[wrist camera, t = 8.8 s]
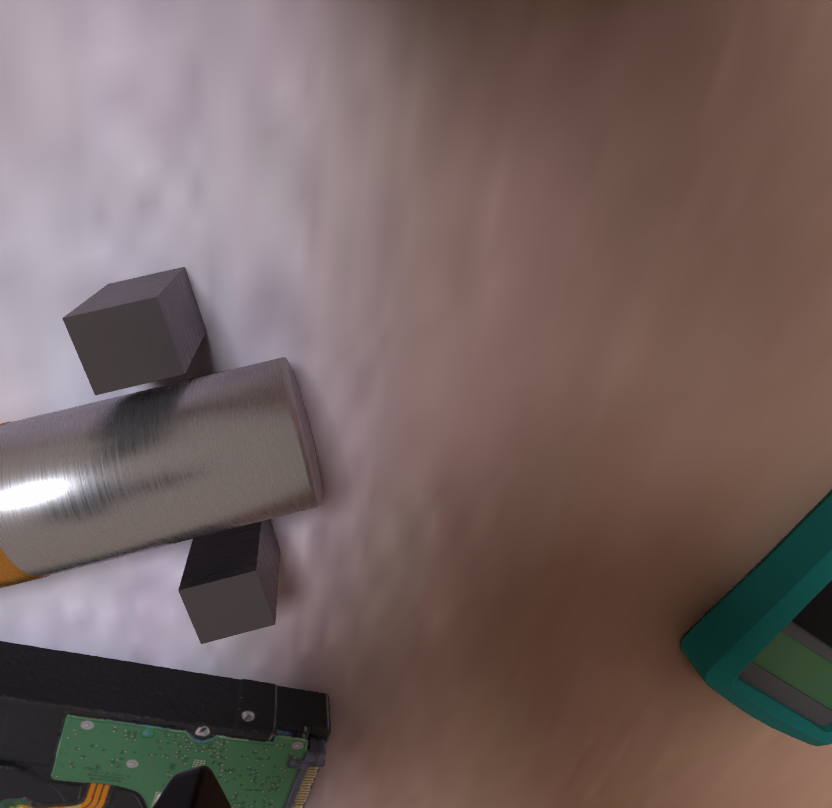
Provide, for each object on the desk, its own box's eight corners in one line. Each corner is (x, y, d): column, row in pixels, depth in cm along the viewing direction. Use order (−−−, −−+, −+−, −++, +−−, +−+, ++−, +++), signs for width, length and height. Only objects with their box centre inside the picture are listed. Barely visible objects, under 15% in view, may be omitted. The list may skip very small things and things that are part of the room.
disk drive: (-159, 837, 23) (258, 874, 27) (-218, 924, 21) (252, 951, 24) (-138, 601, 20) (333, 679, 24) (-204, 670, 18) (335, 745, 21)
